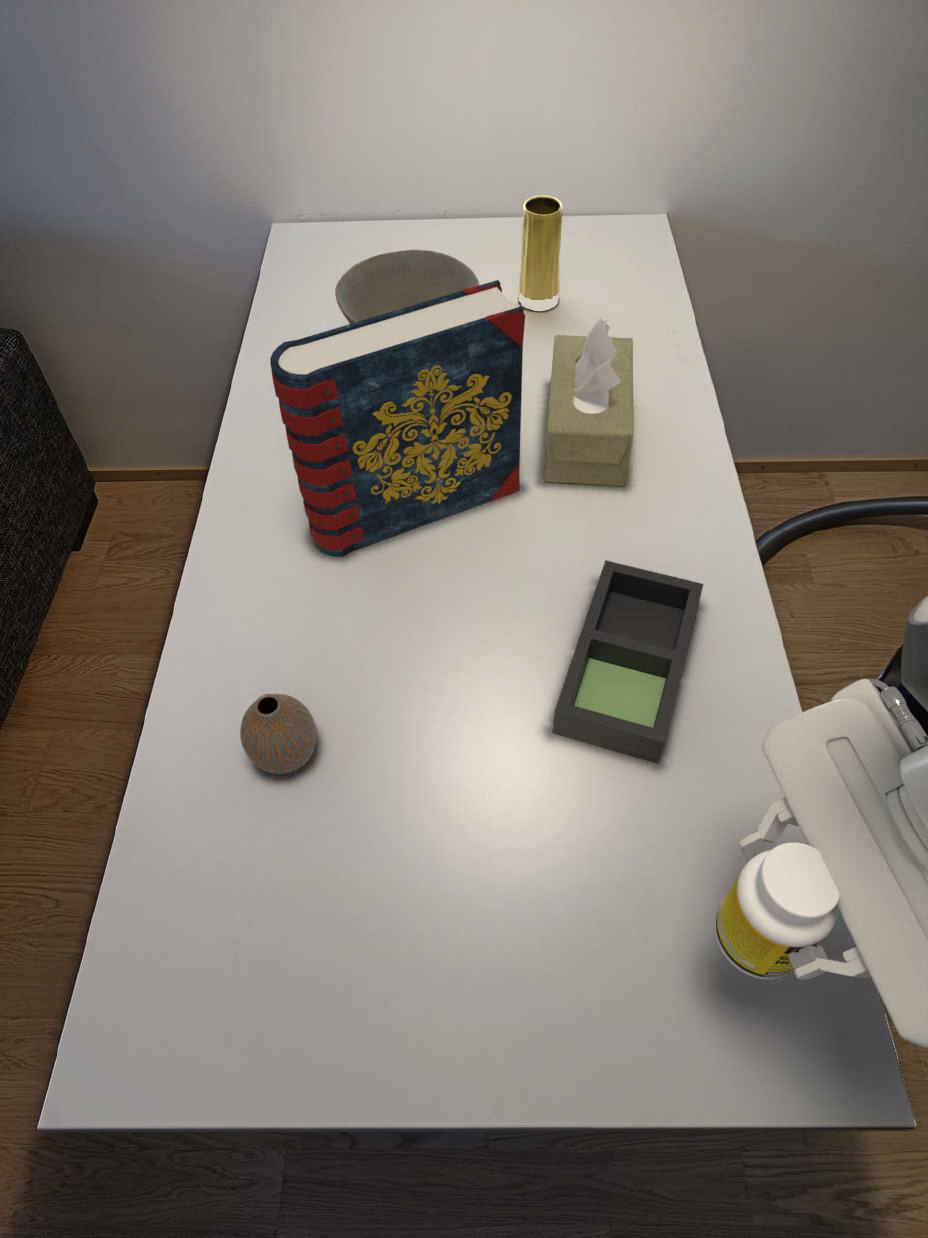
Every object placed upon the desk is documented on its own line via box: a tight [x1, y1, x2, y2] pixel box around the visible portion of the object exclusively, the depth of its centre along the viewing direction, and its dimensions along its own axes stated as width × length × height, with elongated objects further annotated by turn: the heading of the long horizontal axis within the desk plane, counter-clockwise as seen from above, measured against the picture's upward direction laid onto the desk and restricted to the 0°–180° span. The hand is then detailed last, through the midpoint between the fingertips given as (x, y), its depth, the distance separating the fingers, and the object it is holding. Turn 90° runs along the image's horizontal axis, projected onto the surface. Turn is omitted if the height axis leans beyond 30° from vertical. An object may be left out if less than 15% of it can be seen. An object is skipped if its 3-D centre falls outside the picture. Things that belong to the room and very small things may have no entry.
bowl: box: [334, 249, 480, 324], centre depth 118 cm, size 19×19×10 cm
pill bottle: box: [714, 842, 840, 980], centre depth 58 cm, size 6×6×11 cm
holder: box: [552, 560, 704, 764], centre depth 89 cm, size 20×10×4 cm, turn 161°
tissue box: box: [543, 317, 634, 487], centre depth 105 cm, size 19×10×16 cm, turn 174°
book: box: [269, 279, 526, 557], centre depth 94 cm, size 25×7×25 cm, turn 115°
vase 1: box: [239, 693, 318, 775], centre depth 82 cm, size 7×7×9 cm
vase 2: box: [517, 195, 564, 300], centre depth 123 cm, size 6×6×14 cm
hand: (770, 909), depth 57 cm, fingers closed on pill bottle, 6 cm apart
